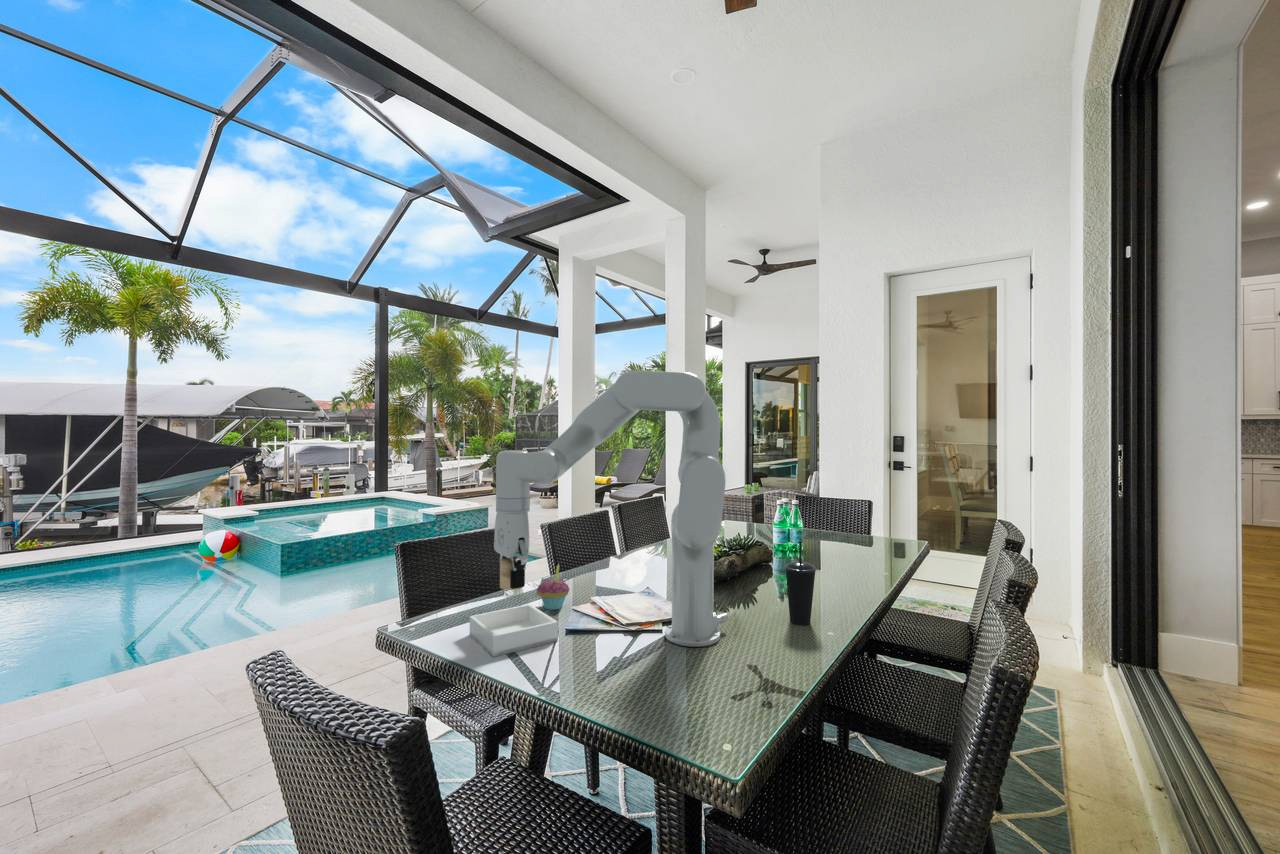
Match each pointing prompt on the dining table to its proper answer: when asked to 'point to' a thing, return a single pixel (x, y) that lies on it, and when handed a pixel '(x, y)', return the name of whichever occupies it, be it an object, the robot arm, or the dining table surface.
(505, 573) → the beige cylinder
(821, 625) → the dining table surface
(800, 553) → the drinking cup
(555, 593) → the cupcake
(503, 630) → the serving dish
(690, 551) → the robot arm
